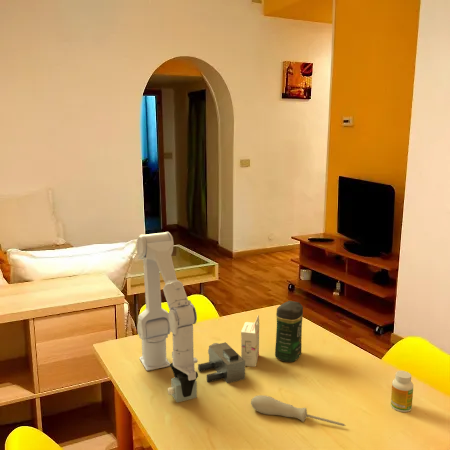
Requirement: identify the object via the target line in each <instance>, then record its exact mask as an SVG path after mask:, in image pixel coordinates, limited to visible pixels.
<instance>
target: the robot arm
mask: <svg viewBox="0 0 450 450" xmlns="http://www.w3.org/2000/svg"><path fill="white" fill-rule="evenodd" d="M174 244H175V243H174V237H173V235H172V234H171V232H169V231H165V232H157V233H149V234H139V235H138V237H137V240H136V254H137V258H138V260H142V264H143V280H144V295H145V296H144V297H145V309H144V310H143V311H142V312H141V313H139V314H138V316H137V326H136V329H137V334H138V337H139V338H140V340H141V354H142V355H141V356H140V357H139V360H140V362H141V364H142V365H143V366H144V369H145V371H147V372H149V371H153V370H157V369H161V368H167V367H170V368H171V371H172V374H173V377H174V378H176V377H178V378H179V380H180V383H181V388H182V393H183V396H184V397H188V396H191V393H192V389H193V385H194V383H195V381H197V379H198V377H199V373H198V372H197V371H196V369H195V367H196V366H195V364H196V363H197V364H198V362H199V361H198V359H197V357H195V355H194V325H195V324H196V323H197V321H198V320H197V319H198V314H197V310H196V307H195V305H194V304H193V303H192V302H191V300H189V298H188V296H187V293H186V291H185V287H184V285H183V282H182V281H180V280H178V279H177V273H176V270H175V266H174V261H173V257H172V255H173V251H174ZM160 274H161V275H160ZM161 278H162V280H163V282H164V283H165V284H164V286H163V287H162V289H161ZM161 290H162V291H163V294H164V297H165V300H166V303H167V307H168V309H169V312H168V310H166V309H164V308H163V307H162V293H161ZM170 334H172V352H171V358H172V362H171V363H170V361H169V360H168V357H167V339H168V337H169V336H168V335H170Z"/></svg>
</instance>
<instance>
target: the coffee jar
mask: <svg viewBox="0 0 450 450" xmlns="http://www.w3.org/2000/svg"><path fill="white" fill-rule="evenodd" d="M303 309H304V306H303V305H302V303H300V302H298V301H294V300H293V301H292V300H288V301H285V302H284V303H282V304H280V305H279V306H278V307H277V308H276V314H275V315H276V316H275V318H276V334H275V337H276V338H275V348H274V355H275V356H274V357H275V358H276V359H277V360H279V361H281V362H285V363H289V362H290V363H291V362H293V363H294V362H295V361H297V360H298V359H299V358H300V357H301V355H302V345H303V344H302V336H303V335H302V330H303V315H304V310H303Z"/></svg>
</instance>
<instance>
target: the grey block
mask: <svg viewBox="0 0 450 450" xmlns="http://www.w3.org/2000/svg"><path fill="white" fill-rule="evenodd" d="M197 382H198V381H197V380H196V381H195V383H194V385H193V389H192V393H191V396H188V397H184V396H183V393H182V388H181V383H180V380H179V378H178V377H176V378H175V377H173V378H171V379H170V384H171V387H167V393H168V396H172V397H173V399H174V401H175V403H181V402H185V401H189V400H193V399H197V398H198V395H197V394H198V390H197V386H198V385H197V384H198V383H197Z"/></svg>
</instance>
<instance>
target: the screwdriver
mask: <svg viewBox="0 0 450 450" xmlns="http://www.w3.org/2000/svg"><path fill="white" fill-rule="evenodd" d="M250 405H251V407H252V408H253V410H255V411H257V412H258V413H260V414H264V415H268V416H269V415H273V416H282V417H286V418H295V419H298V420H300V422H303V423H304V422H305V421H306V419H307V417H308V418H312V419H315V420H319V421H322V422H326V423H330V424H334V425H338V426H342V427H346V424H345V423H342V422H339V421H335V420H333V419H332V420H331V419H329V418H328V419H327V418H324V417H320V416H316V415H311V414H308V411H307V407H302V408H301V407H296V406H294V405H293V404H289V403H286V402H283V401H281V400H278V399H276V398H274V397H272V396H267V395H255V396H254V397H253V398H252V399H251V401H250Z"/></svg>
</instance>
